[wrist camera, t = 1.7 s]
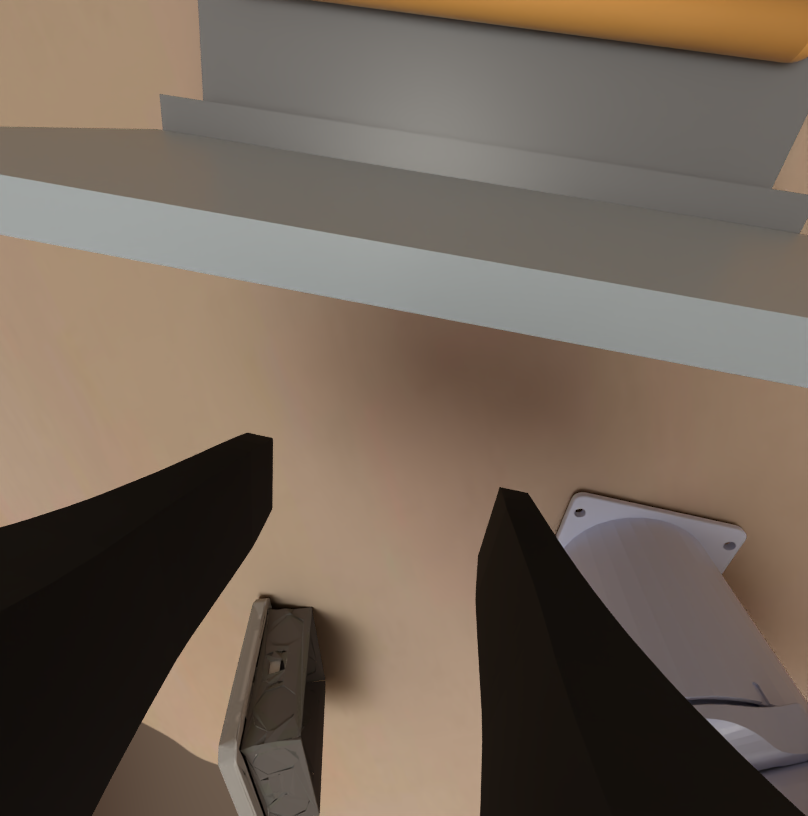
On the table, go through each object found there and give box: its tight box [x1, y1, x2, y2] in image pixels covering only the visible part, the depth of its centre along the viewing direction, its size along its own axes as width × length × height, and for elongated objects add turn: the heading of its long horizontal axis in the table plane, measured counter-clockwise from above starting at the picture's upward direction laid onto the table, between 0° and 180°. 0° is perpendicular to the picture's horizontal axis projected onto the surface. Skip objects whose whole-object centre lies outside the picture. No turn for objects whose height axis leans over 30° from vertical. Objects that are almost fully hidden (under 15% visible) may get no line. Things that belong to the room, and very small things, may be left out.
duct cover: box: [0, 127, 808, 388], centre depth 9 cm, size 9×20×1 cm
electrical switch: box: [218, 598, 326, 816], centre depth 25 cm, size 9×5×9 cm, turn 2°
